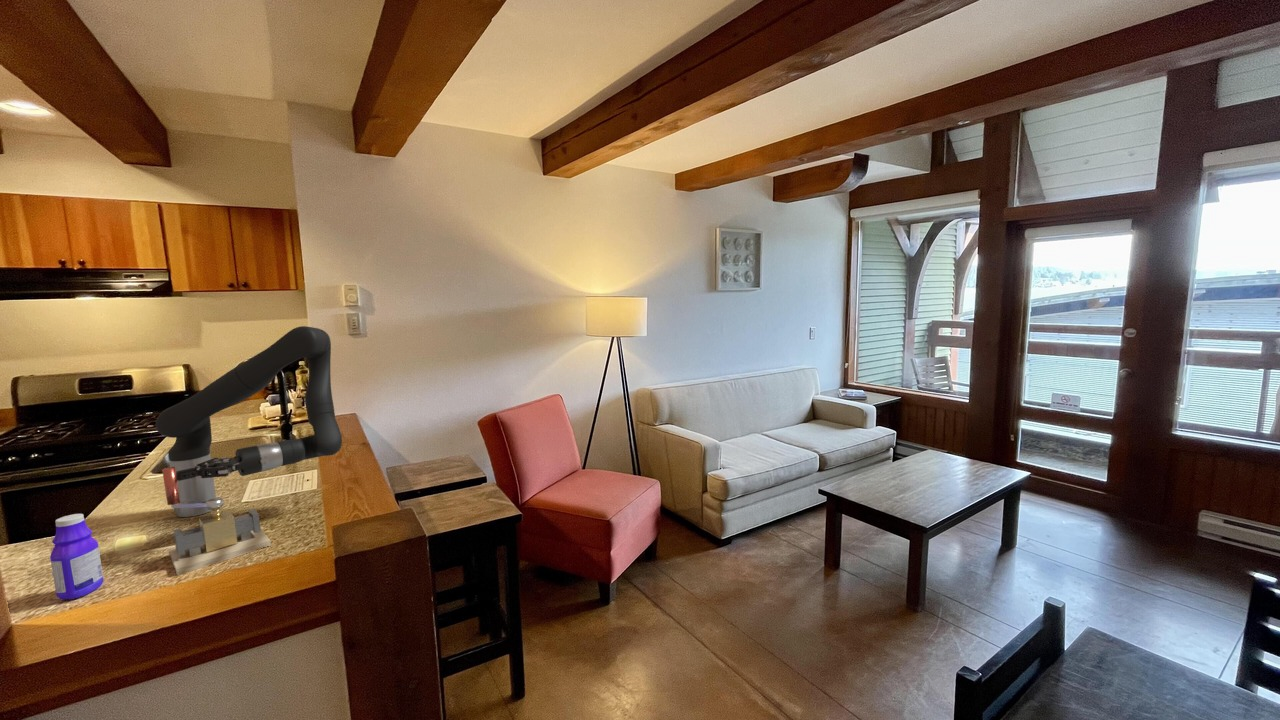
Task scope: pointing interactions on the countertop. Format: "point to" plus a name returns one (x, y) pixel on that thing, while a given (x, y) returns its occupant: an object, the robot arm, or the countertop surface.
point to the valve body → (216, 532)
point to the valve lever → (174, 496)
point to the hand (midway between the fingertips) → (176, 476)
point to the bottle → (75, 558)
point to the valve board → (217, 553)
